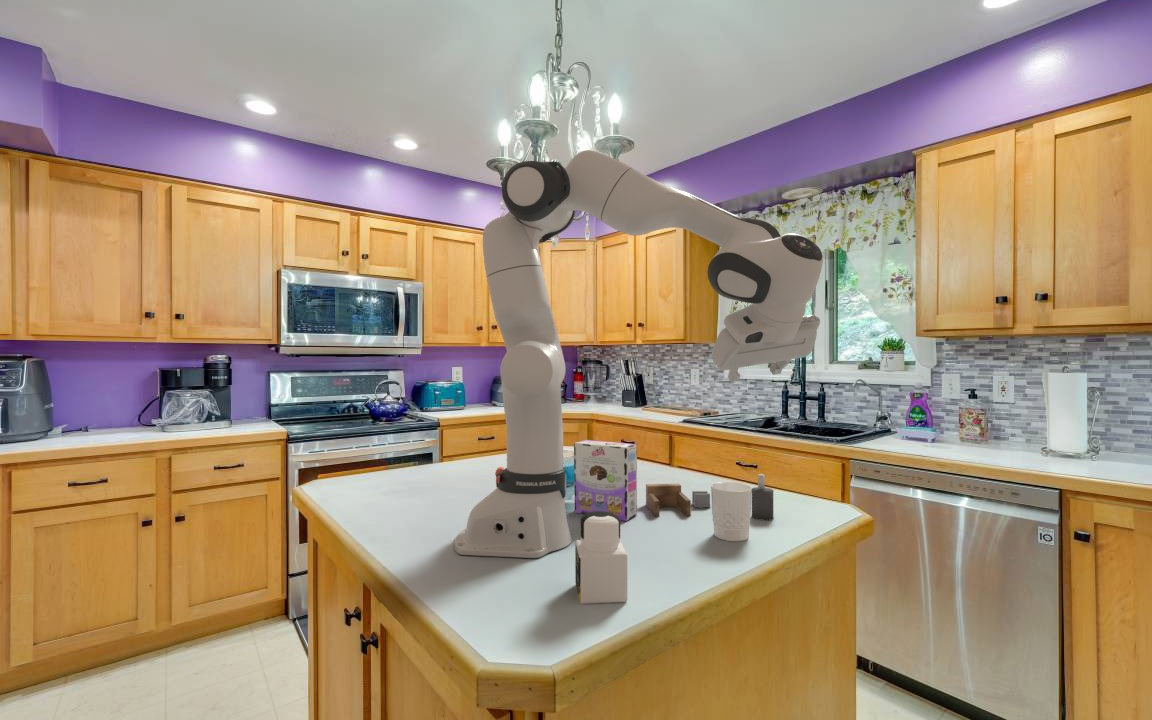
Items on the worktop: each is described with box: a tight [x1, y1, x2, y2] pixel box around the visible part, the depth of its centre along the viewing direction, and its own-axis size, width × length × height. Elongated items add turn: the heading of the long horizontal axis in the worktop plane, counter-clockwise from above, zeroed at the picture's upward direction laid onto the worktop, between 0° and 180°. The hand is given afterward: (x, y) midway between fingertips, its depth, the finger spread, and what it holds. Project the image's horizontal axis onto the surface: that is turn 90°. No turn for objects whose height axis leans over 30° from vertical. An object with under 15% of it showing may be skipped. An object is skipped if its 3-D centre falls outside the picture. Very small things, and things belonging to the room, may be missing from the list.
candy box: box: [573, 439, 638, 522], centre depth 123 cm, size 14×6×16 cm, turn 58°
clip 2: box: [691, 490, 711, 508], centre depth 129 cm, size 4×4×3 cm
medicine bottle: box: [574, 511, 628, 605], centre depth 81 cm, size 7×7×12 cm
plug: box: [751, 473, 774, 521], centre depth 120 cm, size 5×5×9 cm
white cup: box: [710, 481, 753, 542], centre depth 107 cm, size 8×8×10 cm
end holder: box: [645, 483, 692, 518], centre depth 126 cm, size 8×10×5 cm
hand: (753, 375), depth 107 cm, fingers open, 8 cm apart
